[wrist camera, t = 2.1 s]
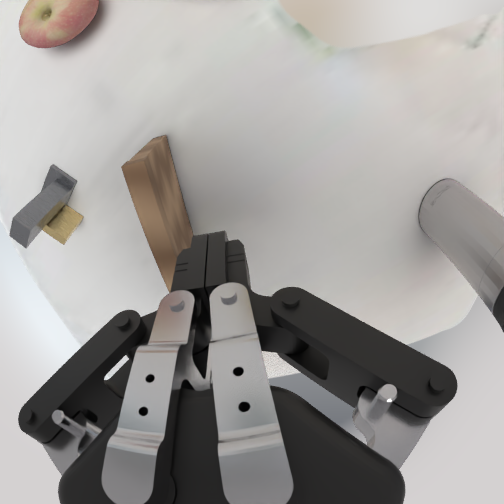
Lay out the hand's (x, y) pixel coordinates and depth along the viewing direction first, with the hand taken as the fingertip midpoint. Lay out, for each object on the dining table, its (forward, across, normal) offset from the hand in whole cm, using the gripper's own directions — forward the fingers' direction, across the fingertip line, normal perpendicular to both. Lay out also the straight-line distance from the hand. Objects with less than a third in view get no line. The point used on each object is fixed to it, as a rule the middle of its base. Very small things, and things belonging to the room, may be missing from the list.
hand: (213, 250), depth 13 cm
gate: (+17, +5, +7) cm, 19 cm away
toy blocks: (+18, +19, 0) cm, 26 cm away
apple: (+18, +12, -20) cm, 29 cm away
